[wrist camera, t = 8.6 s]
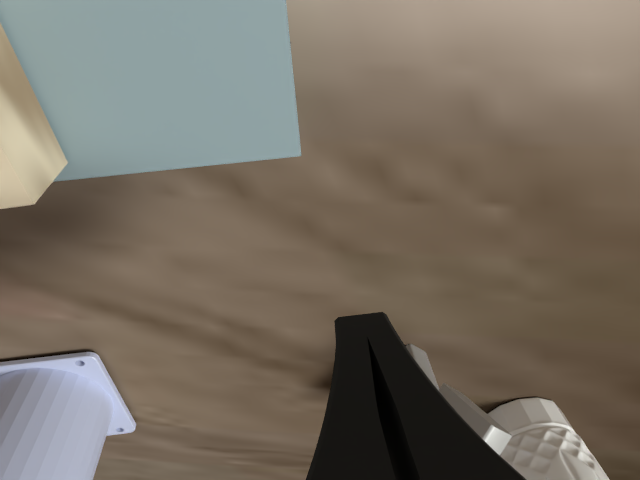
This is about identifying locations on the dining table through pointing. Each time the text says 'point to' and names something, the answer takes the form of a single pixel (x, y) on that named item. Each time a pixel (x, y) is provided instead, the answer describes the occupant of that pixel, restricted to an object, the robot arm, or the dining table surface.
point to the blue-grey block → (158, 81)
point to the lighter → (465, 407)
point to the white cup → (544, 442)
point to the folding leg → (23, 136)
